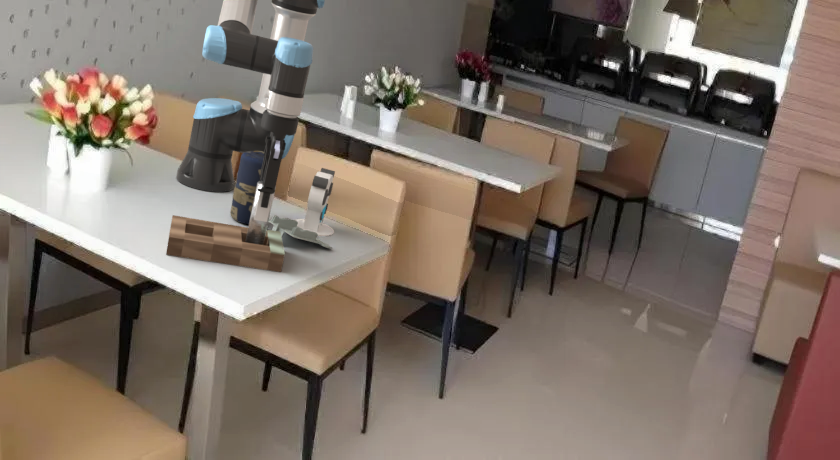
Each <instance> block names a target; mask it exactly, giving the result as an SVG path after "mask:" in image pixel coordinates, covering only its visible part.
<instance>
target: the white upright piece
mask: <svg viewBox="0 0 840 460" xmlns="http://www.w3.org/2000/svg"><path fill="white" fill-rule="evenodd" d="M335 173H336V171H335V170H332V169H328V168H324V167H321V169H320V171H317V172H316V174H315V175H314V176H313V179H312V182H311V185H310V190H309V193H308V198H307V204H306V207H307V209H306V215H305V218H296V219H295V218H294V219H293V220H296V221H297V222H298V224H297V226H298V227H300V228H302V229H303V230H308V231H312V232H315V233H317V234H318V236H317V237H322V236H325V237H330V236H329V235H331V236H332V234H333V233H334V234H335V230H334V229H333V228H332V227H331V226H329V225H328V224H326V223H323V222H324V218H325V215H326V214H327V211H328V206H329V203H328V201H329V197H330V196H331V194H332V192H333V187H334V182H333V179H334V177H335ZM334 234H333V235H334Z"/></svg>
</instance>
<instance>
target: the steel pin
mask: <svg viewBox="0 0 840 460" xmlns="http://www.w3.org/2000/svg"><path fill="white" fill-rule="evenodd" d="M262 183H263V182H262V181H260V182H258V183H257V187H256V192H255V197H254V202H253V207H252V212H251V217H250V221H249V224H248V226H247V228H248V231H247V236H246V241H245V242H246V243H252V244H258V245H264V240H265V236H266V231H267V230H268V225H269V223H270V222H269V219H270V216H271V211H272V207H273V202H274V197H275V192H276V191H275V192H274V194H273V195H272V200H271V205H270V210H269V214H268V219H267V222H264V221H258V220H254V217H255V212H256V208H257V203H258V198H259V193H260V192H258V188H259V189H261V188H262ZM276 188H277V186H276V187H275V190H276Z"/></svg>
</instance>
